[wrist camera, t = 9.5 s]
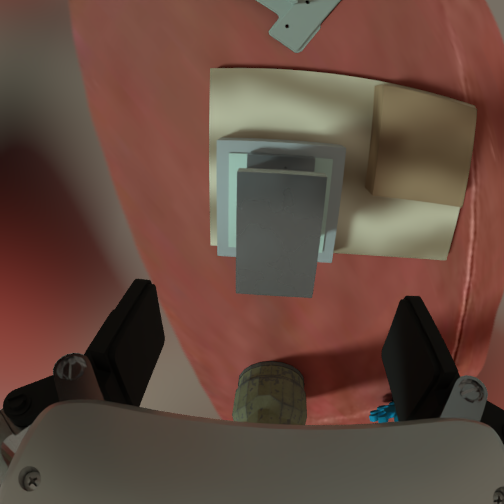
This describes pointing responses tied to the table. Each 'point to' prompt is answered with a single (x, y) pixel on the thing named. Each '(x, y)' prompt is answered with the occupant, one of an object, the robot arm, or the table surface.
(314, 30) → the metal bracket
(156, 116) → the table surface
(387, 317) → the table surface
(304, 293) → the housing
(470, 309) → the table surface
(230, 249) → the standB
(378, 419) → the gear
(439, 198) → the stand
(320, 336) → the table surface
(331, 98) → the board
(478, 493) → the robot arm
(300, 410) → the thermos
